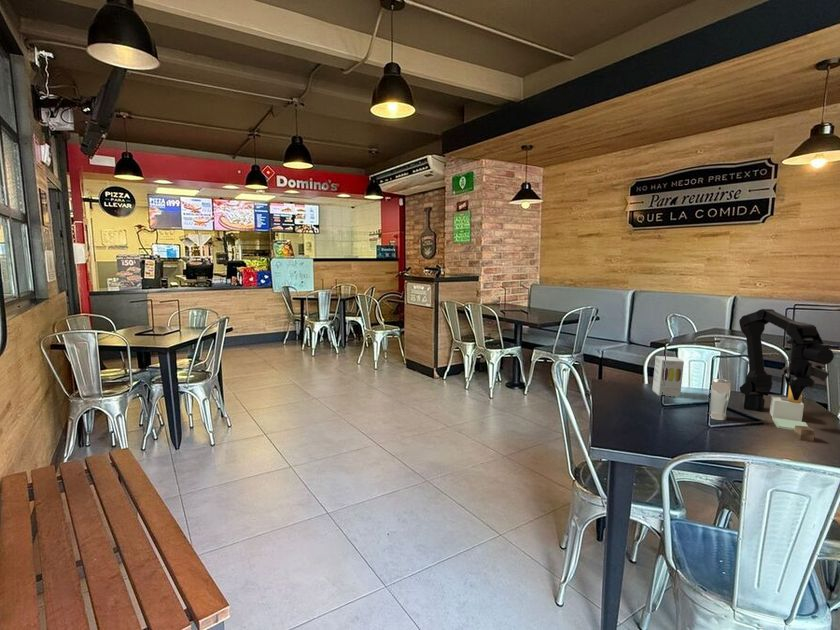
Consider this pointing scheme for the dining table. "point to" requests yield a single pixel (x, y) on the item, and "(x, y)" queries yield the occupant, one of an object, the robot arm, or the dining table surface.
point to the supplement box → (668, 376)
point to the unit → (786, 409)
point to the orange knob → (791, 399)
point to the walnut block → (804, 433)
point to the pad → (787, 423)
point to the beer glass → (719, 398)
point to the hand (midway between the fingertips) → (794, 398)
